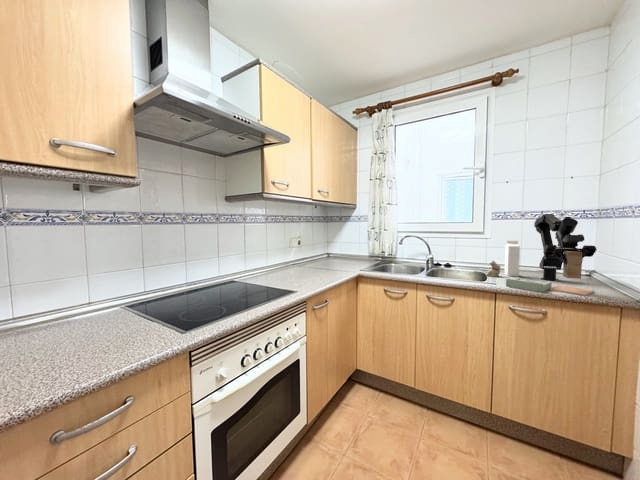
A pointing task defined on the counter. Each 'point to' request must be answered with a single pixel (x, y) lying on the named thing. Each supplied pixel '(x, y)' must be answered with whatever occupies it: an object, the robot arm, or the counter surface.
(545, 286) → the bay
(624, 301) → the counter surface
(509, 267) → the milk
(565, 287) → the tile
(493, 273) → the chocolate bunny
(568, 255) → the brown rectangular block
